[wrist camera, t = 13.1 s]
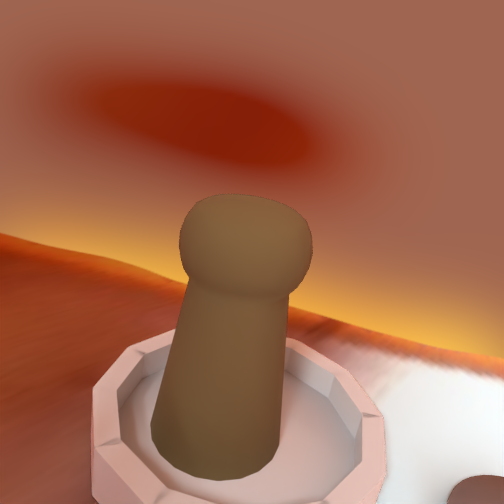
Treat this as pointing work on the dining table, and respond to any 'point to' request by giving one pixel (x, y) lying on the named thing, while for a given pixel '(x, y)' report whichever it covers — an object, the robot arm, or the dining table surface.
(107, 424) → the pink flat ring
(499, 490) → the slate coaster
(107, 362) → the dining table surface
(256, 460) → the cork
